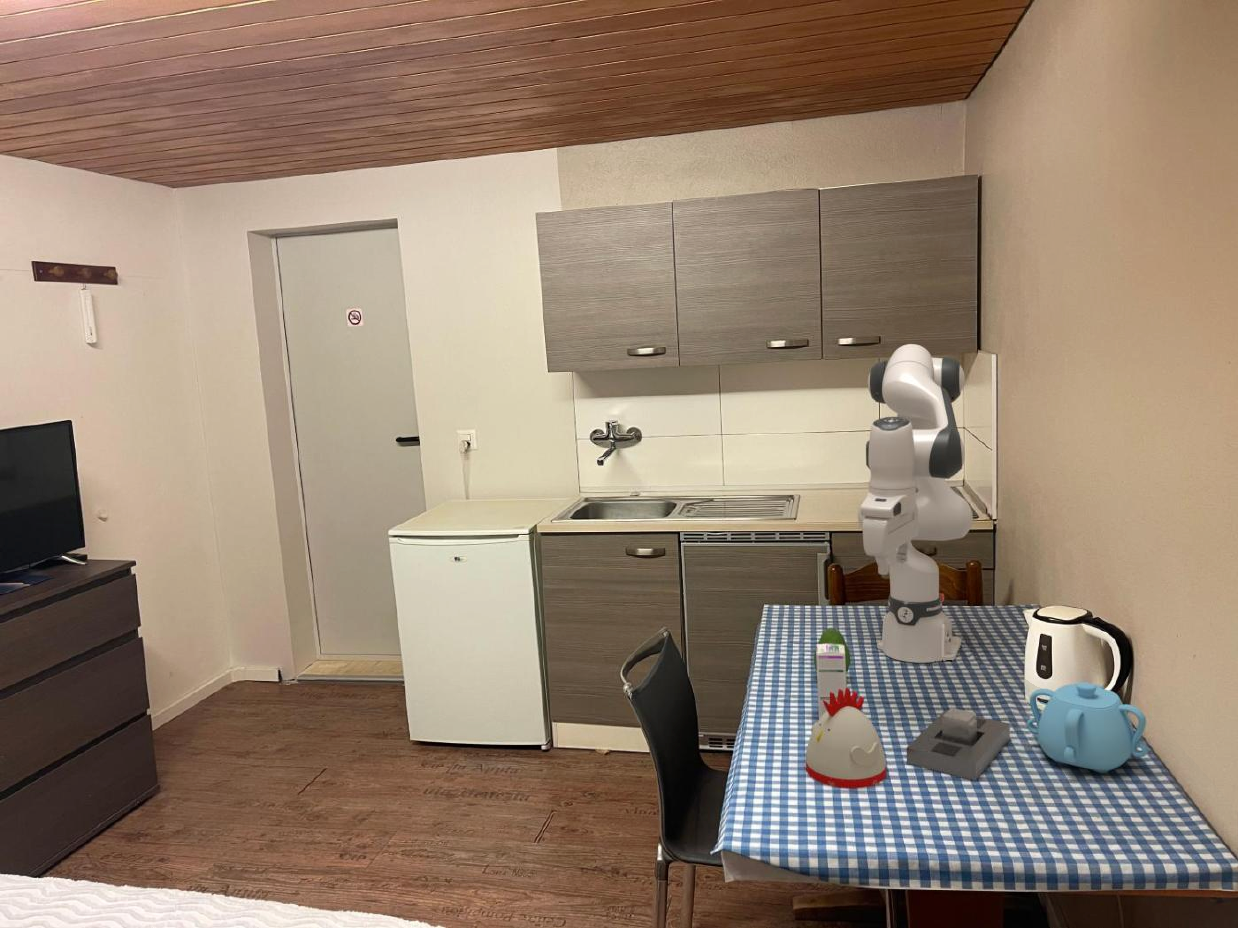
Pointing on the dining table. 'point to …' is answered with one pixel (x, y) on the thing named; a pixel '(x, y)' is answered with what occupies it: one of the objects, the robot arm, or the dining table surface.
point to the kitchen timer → (845, 745)
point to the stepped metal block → (959, 727)
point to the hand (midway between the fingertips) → (893, 567)
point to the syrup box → (830, 672)
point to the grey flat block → (958, 749)
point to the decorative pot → (1087, 727)
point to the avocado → (834, 638)
